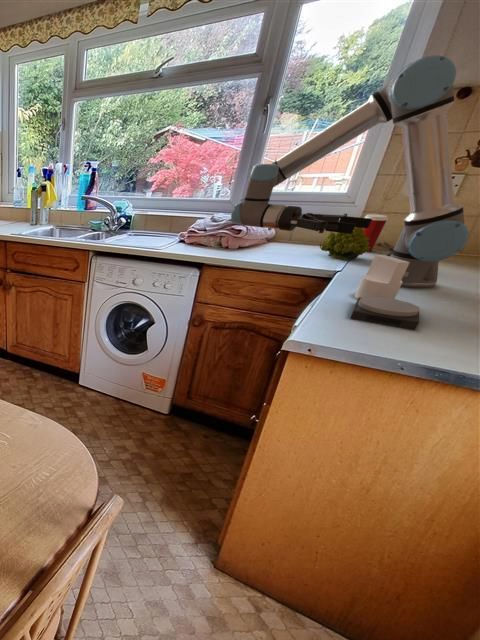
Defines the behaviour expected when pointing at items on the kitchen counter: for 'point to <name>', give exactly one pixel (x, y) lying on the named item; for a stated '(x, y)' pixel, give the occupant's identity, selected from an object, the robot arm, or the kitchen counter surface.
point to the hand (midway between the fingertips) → (362, 226)
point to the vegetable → (346, 244)
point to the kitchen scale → (386, 312)
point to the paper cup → (374, 228)
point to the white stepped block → (382, 278)
